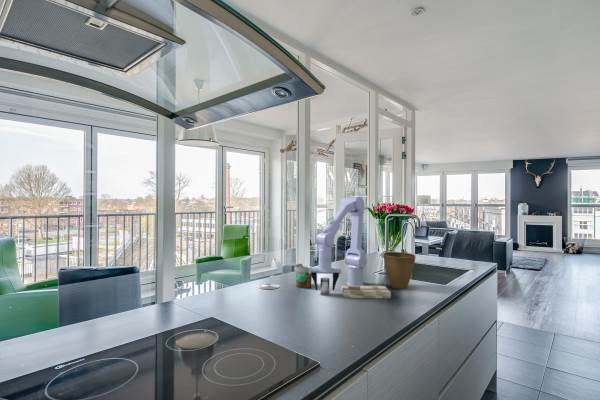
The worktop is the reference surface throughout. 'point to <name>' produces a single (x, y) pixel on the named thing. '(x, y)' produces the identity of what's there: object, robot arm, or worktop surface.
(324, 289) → the silver metal cylinder
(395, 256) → the plant pot
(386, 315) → the worktop surface
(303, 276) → the food container
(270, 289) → the worktop surface
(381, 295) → the board
